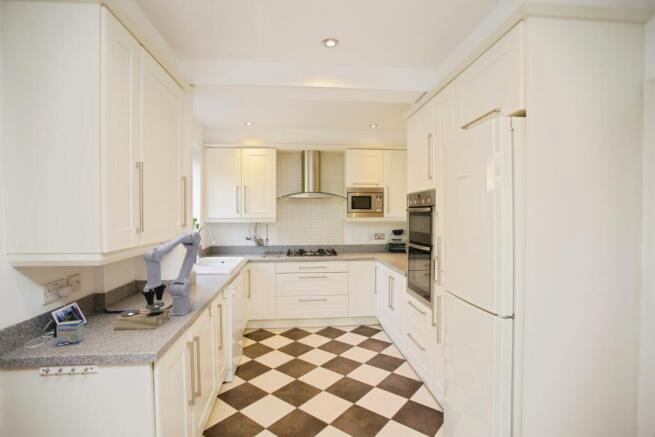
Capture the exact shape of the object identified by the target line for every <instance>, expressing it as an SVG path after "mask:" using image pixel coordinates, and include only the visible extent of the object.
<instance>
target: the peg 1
mask: <svg viewBox="0 0 655 437" xmlns="http://www.w3.org/2000/svg"><path fill="white" fill-rule="evenodd" d="M140 310H141V309H137V308H136V309H129V310H124V311H122V312H120V315H119V316H121V317H131V316H135V315H138V314H140Z"/></svg>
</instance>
